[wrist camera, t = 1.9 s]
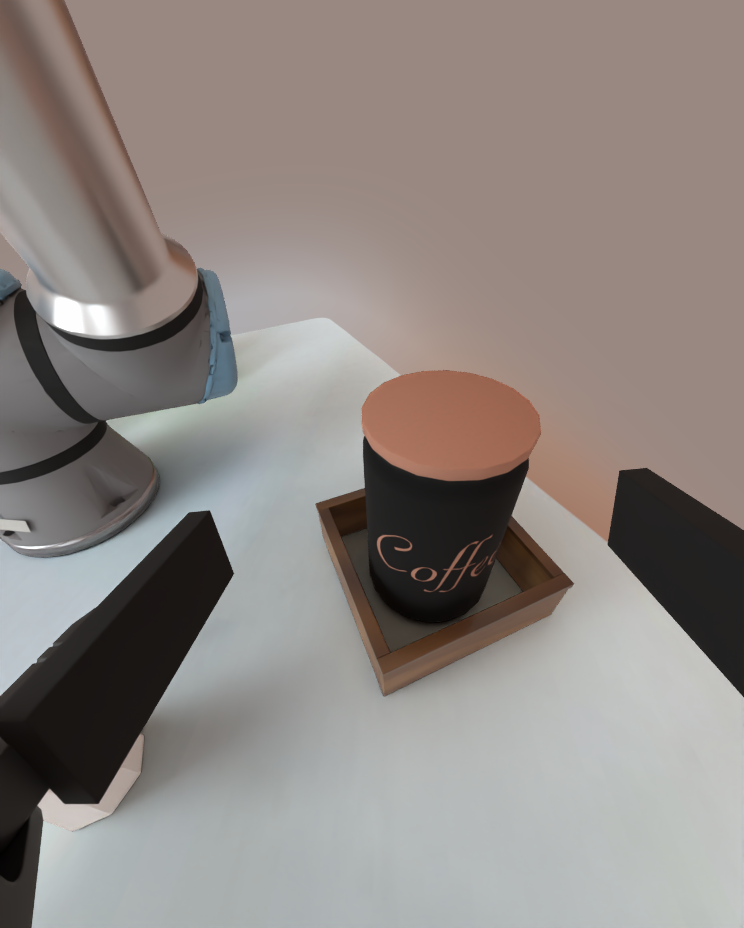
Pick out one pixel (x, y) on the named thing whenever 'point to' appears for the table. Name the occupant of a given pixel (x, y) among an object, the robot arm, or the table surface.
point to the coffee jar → (441, 486)
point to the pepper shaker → (89, 813)
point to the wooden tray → (459, 639)
